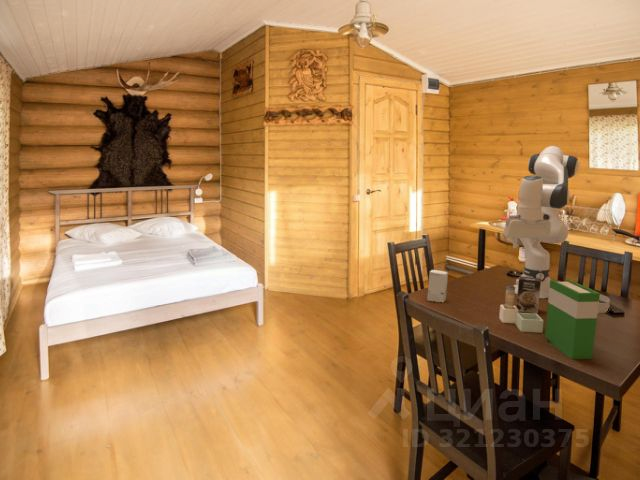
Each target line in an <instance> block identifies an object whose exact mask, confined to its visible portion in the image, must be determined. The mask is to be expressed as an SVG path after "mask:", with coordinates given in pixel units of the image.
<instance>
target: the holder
mask: <svg viewBox="0 0 640 480" xmlns="http://www.w3.org/2000/svg"><path fill="white" fill-rule="evenodd" d="M544 321H545V320H544V319H543V318H542V317H541V316H539V314H534V313H527V312H518V313H516V323H515V326H516V327H517V328H518V330H519V332H522V333H541V334H543V333H544V332H543V331H544Z"/></svg>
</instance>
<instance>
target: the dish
mask: <svg viewBox="0 0 640 480" xmlns="http://www.w3.org/2000/svg"><path fill="white" fill-rule="evenodd" d="M599 300H601V301H604V302H606V303H599V305H598V313H597V314H605V313H608V312H609V311H608V308H609V307H610V308H611V305H610V303H611V299H610V298H609V297H608V296H606V295H604V294H601V293H600V296H599ZM607 311H608V312H607Z"/></svg>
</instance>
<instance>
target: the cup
mask: <svg viewBox="0 0 640 480" xmlns="http://www.w3.org/2000/svg"><path fill="white" fill-rule="evenodd" d="M516 306H517V305H515V304H514V309H505V304H500V305H499V317H498V318H499V320H500V322H502V324H516V313H519V311H518V309H517V308H516Z"/></svg>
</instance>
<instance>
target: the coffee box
mask: <svg viewBox="0 0 640 480" xmlns="http://www.w3.org/2000/svg"><path fill="white" fill-rule="evenodd" d="M518 279H519V285H518V284H517V285H518V294H517V295H516V296H517V297H516V298H517V299H516V305H515V306H516V308H517V309H518V312H519V313H531V314H538V313H539V305H540V298H539V295H540V286H541V279H540V278H531V277H523V276H521V275H520V276H519V277H518ZM538 315H539V314H538Z"/></svg>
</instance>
